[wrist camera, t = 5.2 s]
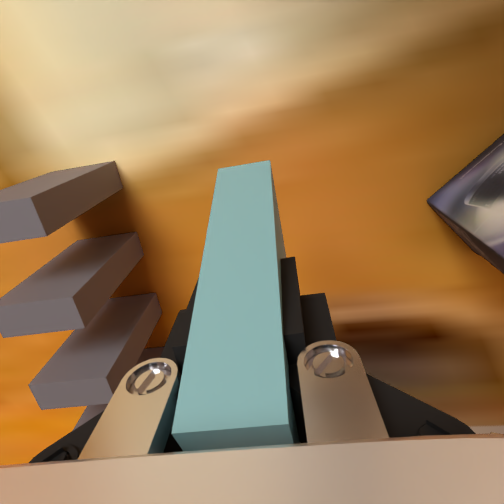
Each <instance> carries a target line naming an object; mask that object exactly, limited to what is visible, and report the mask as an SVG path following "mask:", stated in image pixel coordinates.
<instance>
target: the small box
mask: <svg viewBox="0 0 504 504" xmlns="http://www.w3.org/2000/svg"><path fill="white" fill-rule="evenodd" d="M427 203H428V204H429V205H430V206H431V207H432V209H433V210H434V211H435V212H436V213H437V214H438V215H439V216H440V217H441V218H442V219H443V220H444V221H445V222H446V223H447V224H448V225H449V226H450V227H451V228H452V230H453V231H454V232H455V233H456V234H457V235H458V236H459V237H460V238H461V239H462V240H463V241H464V242H465V243H466V244H467V245H468V246H469V247H470V248H471V249H472V250H473V251H474V252H475V253H477V254H478V255H480V256H482V257H484V259H486V260H487V261H488V262H490V263H491V264H492V265H493V266H494V267H496V268H497V269H498V270H500V271H501V272H502V273H503V274H504V134H503V135H502V136H501V137H500V138H499V139H497V140H496V141H495V142H494V143H493V144H492V145H491V146H489V147H488V148H487V149H486V150H485V151H483V152H482V153H481V154H480V155H479V156H478V157H476V158H475V159H474V160H473V161H472V162H471V163H469V164H468V165H467V166H466V167H465V168H464V169H463V170H461V171H460V172H459V173H458V174H457V175H455V176H454V177H453V178H452V179H451V180H450V181H448V182H447V183H446V184H445V185H444V186H443V187H442V188H440V189H439V190H438V191H437V192H436V193H434V194H433V195H432V196H431V197H430V198H429V199H427Z"/></svg>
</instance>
